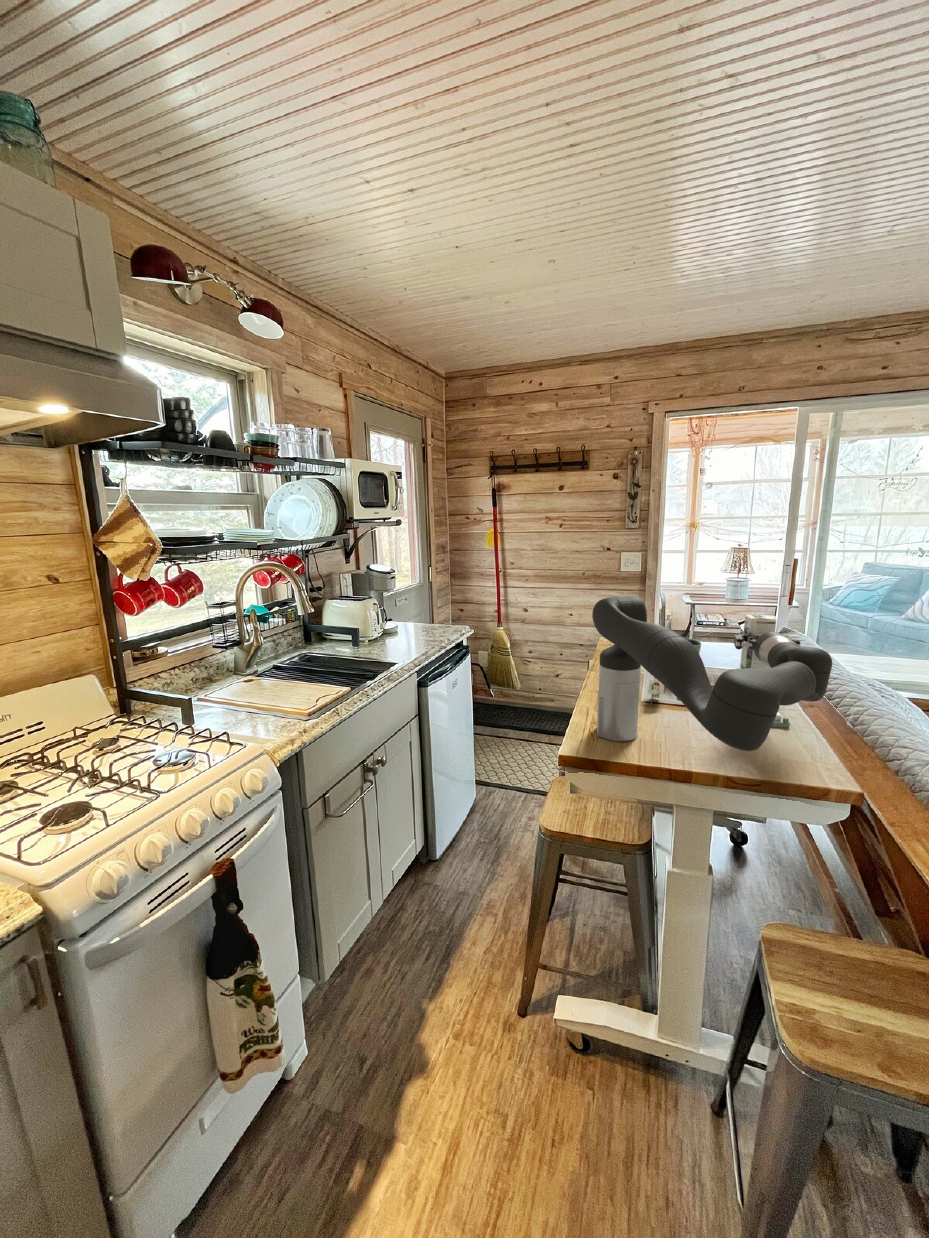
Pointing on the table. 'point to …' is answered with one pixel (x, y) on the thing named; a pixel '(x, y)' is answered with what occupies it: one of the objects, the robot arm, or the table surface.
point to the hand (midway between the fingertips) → (755, 635)
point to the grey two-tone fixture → (655, 691)
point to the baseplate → (781, 721)
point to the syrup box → (758, 627)
